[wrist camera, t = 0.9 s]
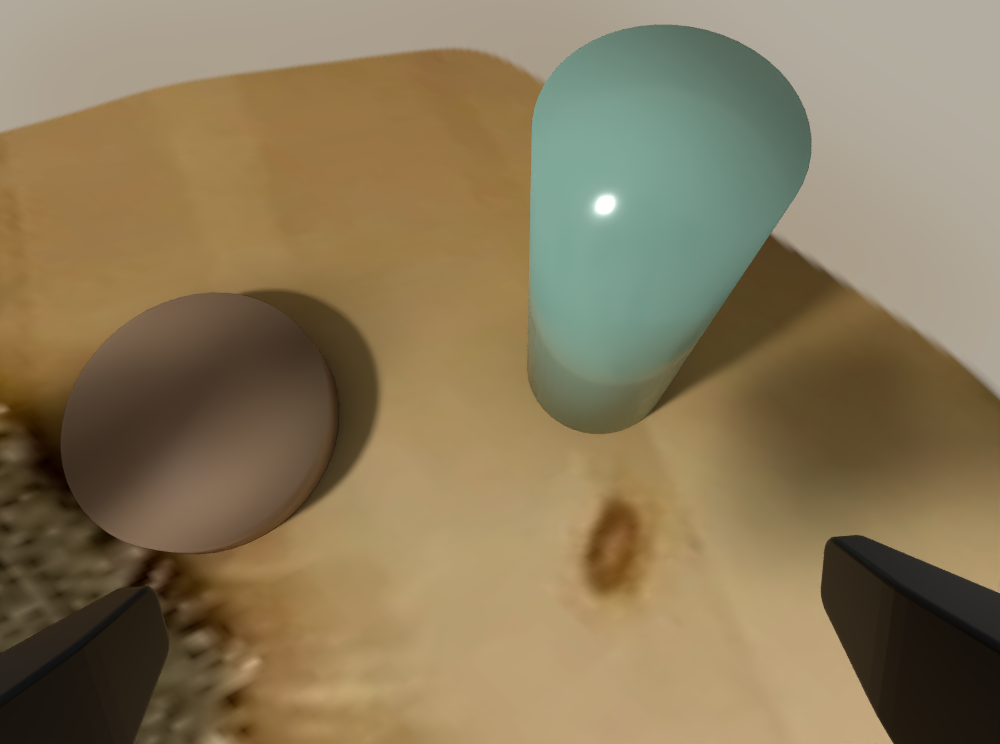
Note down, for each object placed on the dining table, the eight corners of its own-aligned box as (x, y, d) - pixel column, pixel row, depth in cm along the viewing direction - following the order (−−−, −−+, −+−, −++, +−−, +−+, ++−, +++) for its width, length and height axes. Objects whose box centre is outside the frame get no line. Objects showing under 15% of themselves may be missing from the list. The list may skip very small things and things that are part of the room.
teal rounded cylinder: (695, 375, 23) (871, 143, 11) (589, 462, 22) (664, 305, 11) (601, 280, 25) (673, -15, 13) (499, 358, 24) (476, 116, 12)
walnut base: (388, 441, 23) (379, 431, 21) (164, 612, 21) (138, 613, 20) (256, 267, 25) (240, 247, 24) (46, 407, 24) (16, 394, 22)
